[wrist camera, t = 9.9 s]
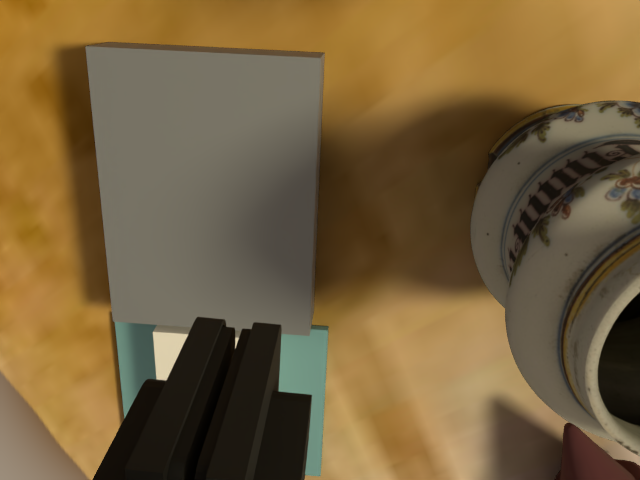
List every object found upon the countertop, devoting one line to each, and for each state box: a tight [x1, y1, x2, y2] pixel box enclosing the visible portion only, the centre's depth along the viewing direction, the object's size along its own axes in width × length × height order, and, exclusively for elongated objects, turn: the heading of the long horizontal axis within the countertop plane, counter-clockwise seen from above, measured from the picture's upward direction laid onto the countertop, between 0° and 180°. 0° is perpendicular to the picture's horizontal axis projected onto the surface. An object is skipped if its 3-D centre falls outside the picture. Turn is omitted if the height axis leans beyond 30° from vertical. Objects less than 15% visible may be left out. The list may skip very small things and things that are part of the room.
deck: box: [85, 42, 325, 336], centre depth 35 cm, size 16×12×3 cm
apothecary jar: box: [470, 101, 640, 456], centre depth 27 cm, size 12×12×18 cm
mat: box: [115, 322, 328, 476], centre depth 42 cm, size 12×14×1 cm
